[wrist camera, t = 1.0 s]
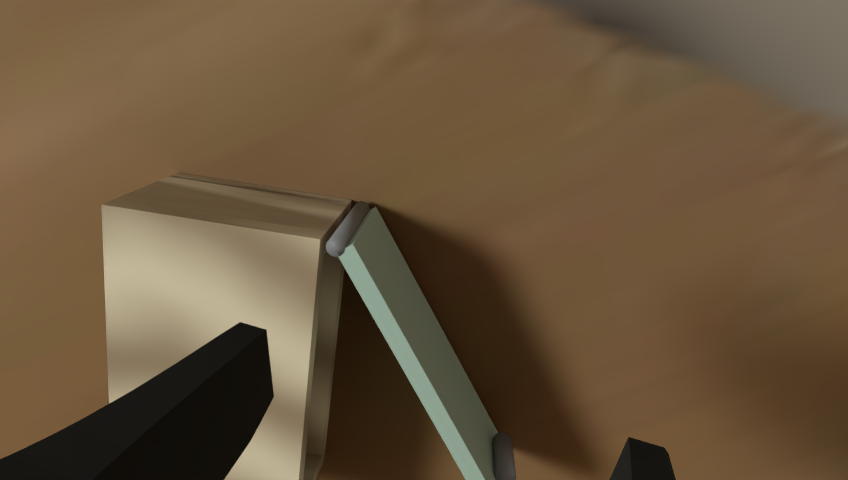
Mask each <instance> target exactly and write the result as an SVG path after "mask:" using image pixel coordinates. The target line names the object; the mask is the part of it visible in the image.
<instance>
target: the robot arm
mask: <svg viewBox="0 0 848 480" xmlns="http://www.w3.org/2000/svg"><path fill="white" fill-rule="evenodd" d="M273 398H274V392H273V383H272V374H271V365H270V356H269V347H268V338H267V330H266V329H262V328H259V327H256V326H252V325H249V324H245V323H242V322H239V323H238V324H236V325H235V326H233V327H231V328H230V329H228V330H227V331H225V332H223V333H222V334H220V335H219V336H217V337H216V338H214V339H213V340H211V341H209V342H208V343H206V344H205V345H203V346H202V347H200V348H199V349H197V350H196V351H194V352H193V353H191V354H189V355H188V356H186V357H185V358H183V359H182V360H180V361H179V362H177V363H175V364H174V365H172V366H171V367H169V368H168V369H166V370H164V371H163V372H161V373H160V374H158V375H156V376H155V377H153V378H151V379H150V380H148V381H147V382H145V383H143V384H142V385H140V386H139V387H137V388H135V389H134V390H132V391H130V392H129V393H127V394H125V395H124V396H122V397H120V398H118V399H117V400H115V401H113V402H111V403H110V404H108V405H106V406H104V407H103V408H101V409H99V410H97V411H96V412H94V413H92V414H90V415H89V416H87V417H85V418H83V419H81V420H79V421H78V422H76V423H74V424H72V425H70V426H68V427H66V428H64V429H62V430H61V431H59V432H57V433H55V434H53V435H51V436H49V437H47V438H45V439H43V440H41V441H39V442H36V443H34V444H32V445H30V446H28V447H26V448H24V449H22V450H20V451H18V452H16V453H13V454H11V455H9V456H7V457H5V458H2V459H0V480H224V479H225V478H226V476H227V475H228V473H229V472H230V470H231V469H232V467H233V466H234V465H235V463H236V462H237V460H238V459H239V457H240V456H241V454H242V453H243V452H244V450H245V449H246V447H247V446H248V444H249V443H250V441H251V439H252V437H253V436H254V434H255V432H256V430H257V428H258V427H259V425H260V423H261V421H262V419H263V417H264V415H265V413H266V411H267V409H268V407H269V406H270V404H271V402H272V400H273ZM610 480H676V479H675V475H674V472H673V469H672V465H671V461H670V458H669V454H668V452H667V451H666V449H665V448H664V447H660V446H657V445H654V444H650V443H647V442H643V441H640V440H637V439H633V438H630V437H628V440H627V442H626V444H625V446H624V449H623V451H622V453H621V455H620V458H619V460H618V462H617V464H616V467H615V469H614V471H613V473H612V476H611V478H610Z"/></svg>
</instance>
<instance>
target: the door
mask: <svg viewBox="0 0 848 480" xmlns="http://www.w3.org/2000/svg"><path fill="white" fill-rule="evenodd" d="M326 250H327V252H328V253H329V254H330V255H331V256H334V257H339V259H340V261H341V262H342V264H343V266H344V268H345V269H346V271H347V273H348V275H349V276H350V278H351V280H352V282H353V283H354V285H355V287H356V289H357V290H358V292H359V294H360V296H361V297H362V299H363V301H364V303H365V304H366V306H367V308H368V310H369V311H370V313H371V315H372V317H373V318H374V320H375V322H376V324H377V325H378V327H379V329H380V331H381V332H382V334H383V336H384V338H385V339H386V341H387V343H388V345H389V346H390V348H391V350H392V352H393V353H394V355H395V357H396V359H397V360H398V362H399V364H400V366H401V367H402V369H403V371H404V373H405V374H406V376H407V378H408V380H409V381H410V383H411V385H412V387H413V388H414V390H415V392H416V394H417V395H418V397H419V399H420V401H421V402H422V404H423V406H424V408H425V409H426V411H427V413H428V415H429V416H430V418H431V420H432V422H433V423H434V425H435V427H436V429H437V430H438V432H439V434H440V436H441V437H442V439H443V441H444V443H445V444H446V446H447V448H448V449H449V451H450V453H451V455H452V456H453V458H454V460H455V462H456V463H457V465H458V467H459V469H460V470H461V472H462V474H463V476H464V477H465V479H466V480H516V472H515V463H514V454H513V444H512V437H511V436H510V435H509V434H508V433H506V432H497V430H496V428H495V426H494V424H493V422H492V421H491V419H490V417H489V415H488V413H487V411H486V409H485V408H484V406H483V404H482V402H481V400H480V398H479V397H478V395H477V393H476V391H475V389H474V387H473V385H472V384H471V382H470V380H469V378H468V376H467V374H466V372H465V371H464V369H463V367H462V365H461V363H460V361H459V359H458V358H457V356H456V354H455V352H454V350H453V348H452V347H451V345H450V343H449V341H448V339H447V337H446V335H445V334H444V332H443V330H442V328H441V326H440V324H439V322H438V321H437V319H436V317H435V315H434V313H433V311H432V309H431V308H430V306H429V304H428V302H427V300H426V298H425V297H424V295H423V293H422V291H421V289H420V287H419V285H418V284H417V282H416V280H415V278H414V276H413V274H412V272H411V271H410V269H409V267H408V265H407V263H406V261H405V260H404V258H403V256H402V254H401V252H400V250H399V248H398V247H397V245H396V243H395V241H394V239H393V237H392V235H391V234H390V232H389V230H388V228H387V226H386V224H385V222H384V221H383V219H382V217H381V215H380V213H379V211H378V210H377V208H376V207H374V208H372V209H370V207H369V205H368V204H367V203H366V202H363V201H360V202H357V203H356V204H355V206H354V207H353V208H352V210H351V211H350V212H349V214H348V215H347V216H346V218H345V219H344V220H343V222H342V223H341V224H340V226H339V227H338V228H337V230H336V231H335V232H334V234H333V235H332V236H331V238H330V239H329V240H328V242H327V243H326Z"/></svg>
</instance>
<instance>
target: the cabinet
mask: <svg viewBox="0 0 848 480" xmlns="http://www.w3.org/2000/svg"><path fill="white" fill-rule="evenodd" d="M351 202H352V200H349V199H342V198H336V197H330V196H323V195H317V194H311V193H304V192H298V191H292V190H285V189H279V188H273V187H266V186H260V185H254V184H247V183H241V182H234V181H228V180H222V179H215V178H209V177H203V176H196V175H190V174H184V173H176V174H174V175H172V176H169V177H167V178H164V179H162V180H160V181H157V182H155V183H152V184H150V185H147V186H145V187H143V188H140V189H138V190H135V191H133V192H131V193H128V194H126V195H123V196H121V197H119V198H116V199H114V200H111V201H109V202H106V203H104V204H102V226H103V253H104V280H105V306H106V333H107V360H108V387H109V404H110V403H111V402H113V401H115V400H117V399H118V398H120V397H122V396H124V395H125V394H127V393H129V392H130V391H132V390H134V389H135V388H137V387H139V386H140V385H142V384H143V383H145V382H147V381H148V380H150V379H151V378H153V377H155V376H156V375H158V374H160V373H161V372H163V371H164V370H166V369H168V368H169V367H171V366H172V365H174V364H175V363H177V362H179V361H180V360H182V359H183V358H185V357H186V356H188V355H189V354H191V353H193V352H194V351H196V350H197V349H199V348H200V347H202V346H203V345H205V344H206V343H208V342H209V341H211V340H213V339H214V338H216V337H217V336H219V335H220V334H222V333H223V332H225V331H227V330H228V329H230V328H231V327H233V326H235V325H236V324H238V323H239V322H242V323H245V324H249V325H252V326H256V327H259V328H262V329H266V330H267V338H268V347H269V356H270V365H271V374H272V383H273V392H274V398H273V400H272V402H271V404H270V406H269V407H268V409H267V411H266V413H265V415H264V417H263V419H262V421H261V423H260V425H259V427H258V428H257V430H256V432H255V434H254V436H253V437H252V439H251V441H250V443H249V444H248V446H247V447H246V449H245V450H244V452H243V453H242V454H241V456H240V457H239V459H238V460H237V462H236V463H235V465H234V466H233V467H232V469H231V470H230V472H229V473H228V475H227V476H226V478H225V479H224V480H317V478H318V475H319V472H320V470H321V467H322V464H323V461H324V458H325V449H326V439H327V430H328V420H329V411H330V401H331V392H332V382H333V373H334V363H335V354H336V344H337V335H338V325H339V316H340V306H341V297H342V287H343V278H344V266H343V264H342V262H341V261H340V259H339V257H334V256H331V255H330V254H329V253H328V252H327V250H326V243H327V242H328V240H329V239H330V238H331V236H332V235H333V234H334V232H335V231H336V230H337V228H338V227H339V226H340V224H341V223H342V222H343V220H344V219H345V218H346V216H347V215H348V214H349V212H350V211H351Z"/></svg>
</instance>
